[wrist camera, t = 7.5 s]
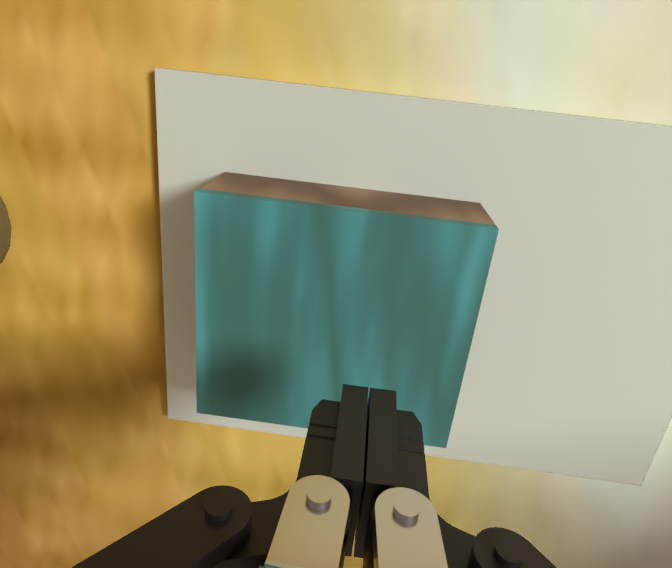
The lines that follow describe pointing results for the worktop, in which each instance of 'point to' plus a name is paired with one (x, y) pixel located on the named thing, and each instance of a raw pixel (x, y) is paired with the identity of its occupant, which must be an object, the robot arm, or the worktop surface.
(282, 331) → the teal and brown block
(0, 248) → the brown rounded upright piece
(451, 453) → the sage mat
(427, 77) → the worktop surface
